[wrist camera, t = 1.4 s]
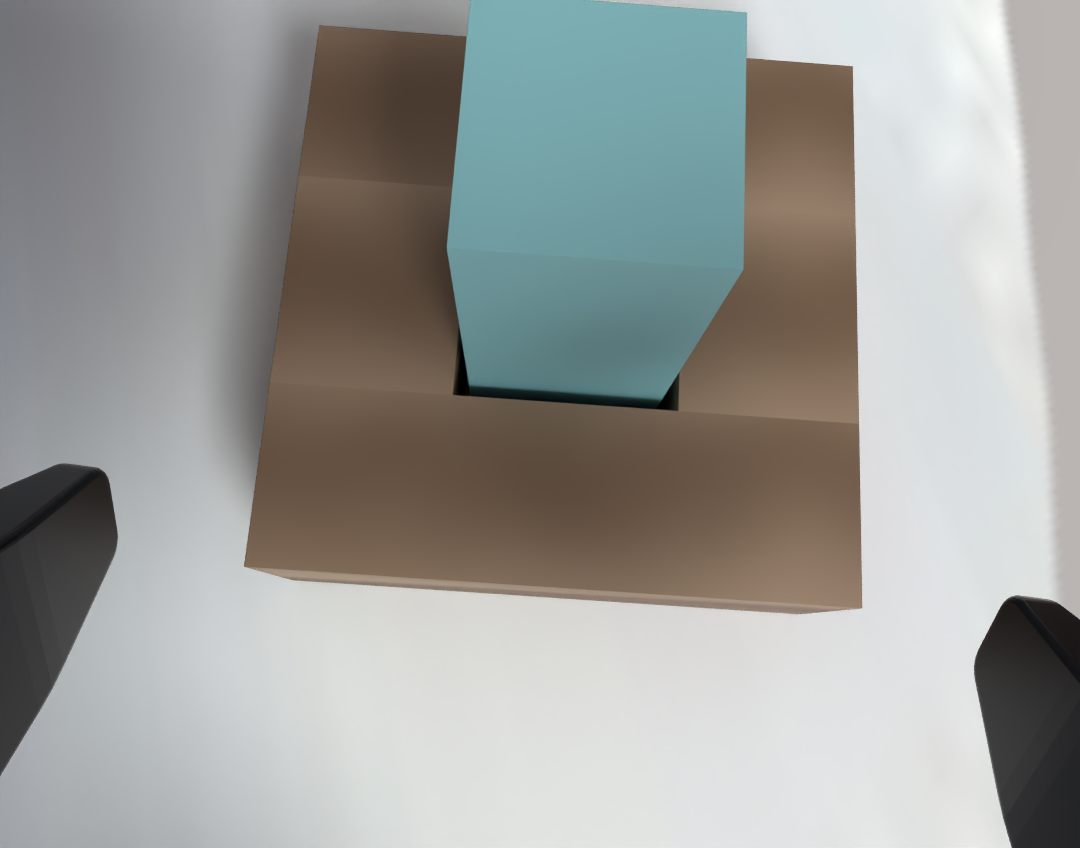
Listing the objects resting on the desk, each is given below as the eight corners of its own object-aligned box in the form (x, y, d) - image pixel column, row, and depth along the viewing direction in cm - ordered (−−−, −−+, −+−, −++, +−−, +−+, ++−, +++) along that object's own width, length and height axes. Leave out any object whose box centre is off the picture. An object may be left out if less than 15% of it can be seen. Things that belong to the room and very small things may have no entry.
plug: (640, 433, 22) (743, 269, 12) (475, 421, 22) (446, 247, 12) (646, 279, 23) (747, 12, 13) (488, 267, 23) (471, -9, 13)
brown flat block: (798, 614, 22) (862, 608, 18) (292, 579, 21) (244, 566, 18) (797, 157, 24) (852, 66, 20) (349, 124, 24) (319, 25, 20)
